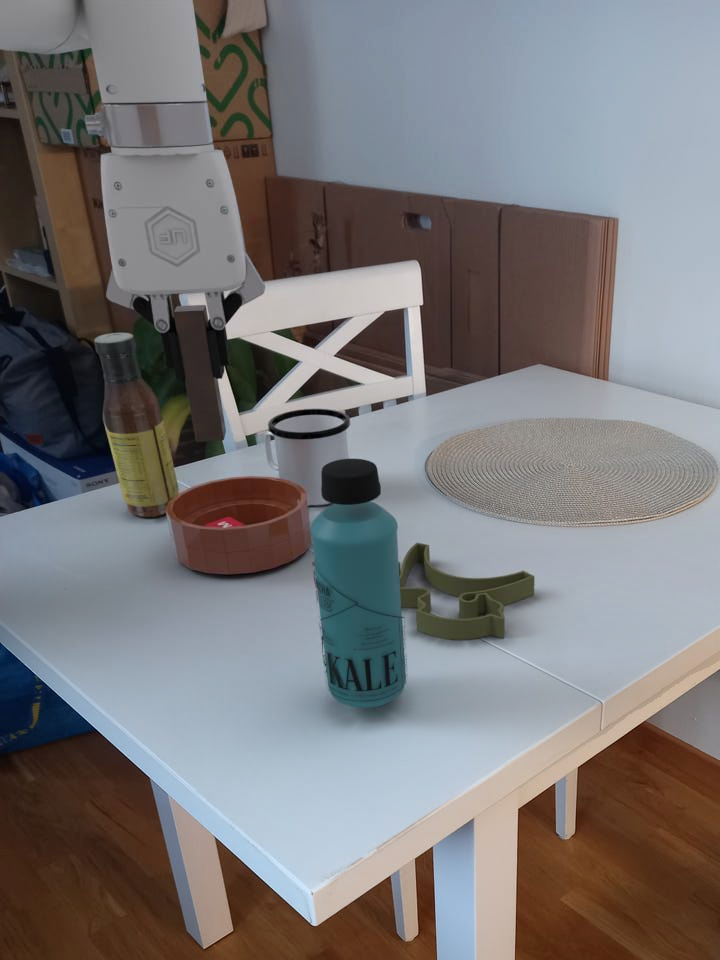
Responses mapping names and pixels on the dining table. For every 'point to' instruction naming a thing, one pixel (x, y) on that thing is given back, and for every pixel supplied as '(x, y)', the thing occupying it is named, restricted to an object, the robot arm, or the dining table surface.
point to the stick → (199, 373)
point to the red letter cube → (225, 523)
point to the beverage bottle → (358, 587)
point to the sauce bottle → (135, 429)
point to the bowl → (243, 549)
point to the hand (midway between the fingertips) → (200, 373)
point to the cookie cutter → (462, 599)
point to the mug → (307, 447)
